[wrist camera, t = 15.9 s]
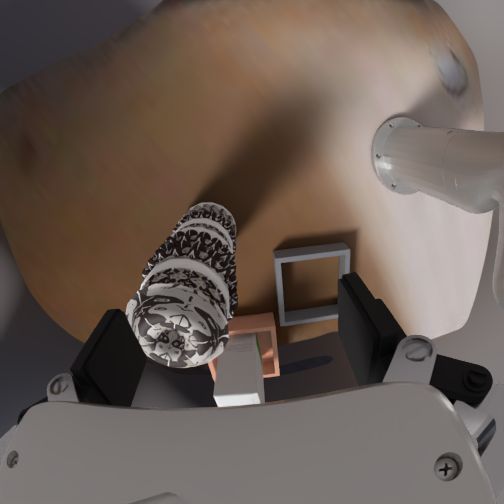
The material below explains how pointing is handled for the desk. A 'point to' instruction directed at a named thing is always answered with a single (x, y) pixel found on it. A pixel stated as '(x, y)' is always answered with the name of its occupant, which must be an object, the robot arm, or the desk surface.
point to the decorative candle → (188, 290)
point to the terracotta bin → (266, 339)
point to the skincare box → (239, 372)
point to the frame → (306, 254)
